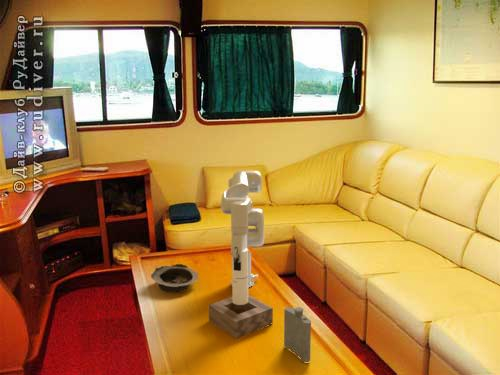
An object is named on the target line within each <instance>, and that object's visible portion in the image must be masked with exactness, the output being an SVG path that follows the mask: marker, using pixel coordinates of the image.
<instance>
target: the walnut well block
mask: <svg viewBox="0 0 500 375" xmlns="http://www.w3.org/2000/svg"><path fill="white" fill-rule="evenodd" d="M273 317H274V308H273V307H272V306H270V305H268V304H266V303H264V302H263V301H261V300H258V299H257V298H255V297H253V296H251V295H249V294H248V303H247V304H244V305H236V304H234V303H233V296H231V297H228V298H226V299H222V300H219V301H217V302H213V303H211V304H208V321H209V322H210V323H211V324H212V325H215V326H216V327H217V328H219V329H220V330H223V332H225V333H227V335H229V336H231V337H232V338H234V339H239V338H242V337H244V336H246V335H249V334H252V333H254V332H256V331H259V330H262V329H264V328H266V327H265V326H267V325H269V324H271V323H273V324H274V322H273V320H274V318H273ZM269 326H270V325H269ZM263 327H264V328H263ZM267 327H268V326H267ZM261 328H262V329H261ZM258 329H259V330H258Z"/></svg>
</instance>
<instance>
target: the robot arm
mask: <svg viewBox="0 0 500 375" xmlns="http://www.w3.org/2000/svg"><path fill="white" fill-rule="evenodd" d="M261 174H262V173H261V172H259V171H258V170H238V171H236V172H234V174H233V176H232V177H231V178H229V179H228V188H227V189H225V190H224V191H223V193H222V195H221V200H220V201H221V202H220V210H221V212H222V213H223V214H225V215H230V231H231V232H230V233H231V240H230V256H231V257H232V256H233V262H234V270H236V271H240V270H241V262H240V258H241V256H242V253H243V251H244V250H245V249H246V248H247V249H248V289H250V288H252V287H253V286H254V285H255V281H254V279H258V278H259V274H253V273H252V252H251V251H250V249H249V248H248V247H262V246H263V245H264V243H265V215H264V211H263V209H261V208H257V207H255V208H253V206H254V204H253V201H252V200H251V198H250V197H249V194H258V193H261V191H262V189H263V176H262V175H261ZM249 227H255V228H249ZM237 253H239V255H237ZM237 257H239V259H238V258H237ZM230 286H231V287H232V280H231V281H230ZM251 286H252V287H251ZM249 287H250V288H249Z"/></svg>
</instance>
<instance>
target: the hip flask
mask: <svg viewBox="0 0 500 375" xmlns="http://www.w3.org/2000/svg"><path fill="white" fill-rule="evenodd" d="M283 311H284V313H283V314H284V316H283V319H284V320H283V322H284V324H283V325H284V326H283V327H284V328H283V329H284V330H283V332H284V333H283V342H284V343H283V347H284V346H285V347H286V348H288V349H290V350H291V351H292V352H294V353H295V354H296V355H297V356H299V357H300V358H301V360H302V361H303V362H309V361H310V362H311V340H312V339H311V338H312V337H311V335H312V330H311V329H312V327H311V326H312V321H311V320H310V318H309V317H307V316H306V315H305V314H303V313H304V308H303V307H301V306H300V307H299V306H296V307H294V308H293V307H290V306H286V307H284V310H283ZM292 352H291V353H292ZM296 355H295V356H296ZM297 356H296V357H297ZM301 360H300V361H301ZM302 361H301V362H302ZM303 362H302V363H303Z"/></svg>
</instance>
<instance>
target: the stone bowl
mask: <svg viewBox="0 0 500 375" xmlns="http://www.w3.org/2000/svg"><path fill="white" fill-rule="evenodd" d="M150 275H151V276H150V278H151V279H152V280H153V281H154V282H155V283H156V284H158V287H159V289H160V290H161V291H163V292H165V293H180V292H183V291H187V289H188V288H189V287H190V286H191V285H192V284H194V283H196V282H197V280H199V273H198V272H197V271H196V270H194V269H192V268H189V266H187V265H185V264H182V263H180V264H179V263H176V264H174V265H173V264H172V265H171V266H169V265H162V266H160V267H156V268H155V269H154V271H153V273H152V274H150Z"/></svg>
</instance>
